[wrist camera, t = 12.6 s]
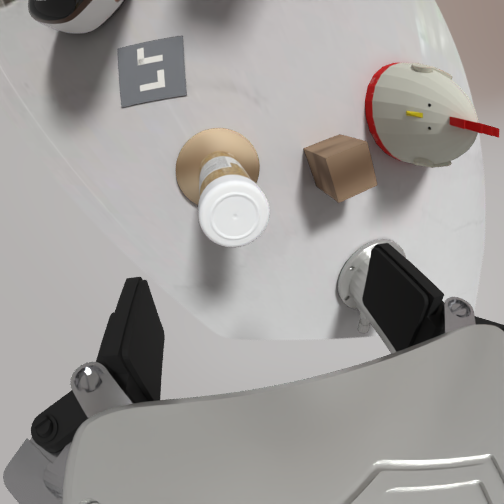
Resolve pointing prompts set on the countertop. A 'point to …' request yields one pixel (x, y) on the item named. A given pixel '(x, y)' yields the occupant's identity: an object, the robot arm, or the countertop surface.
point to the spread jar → (73, 13)
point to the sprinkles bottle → (230, 202)
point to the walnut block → (341, 166)
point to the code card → (151, 71)
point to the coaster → (206, 145)
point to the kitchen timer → (421, 115)
